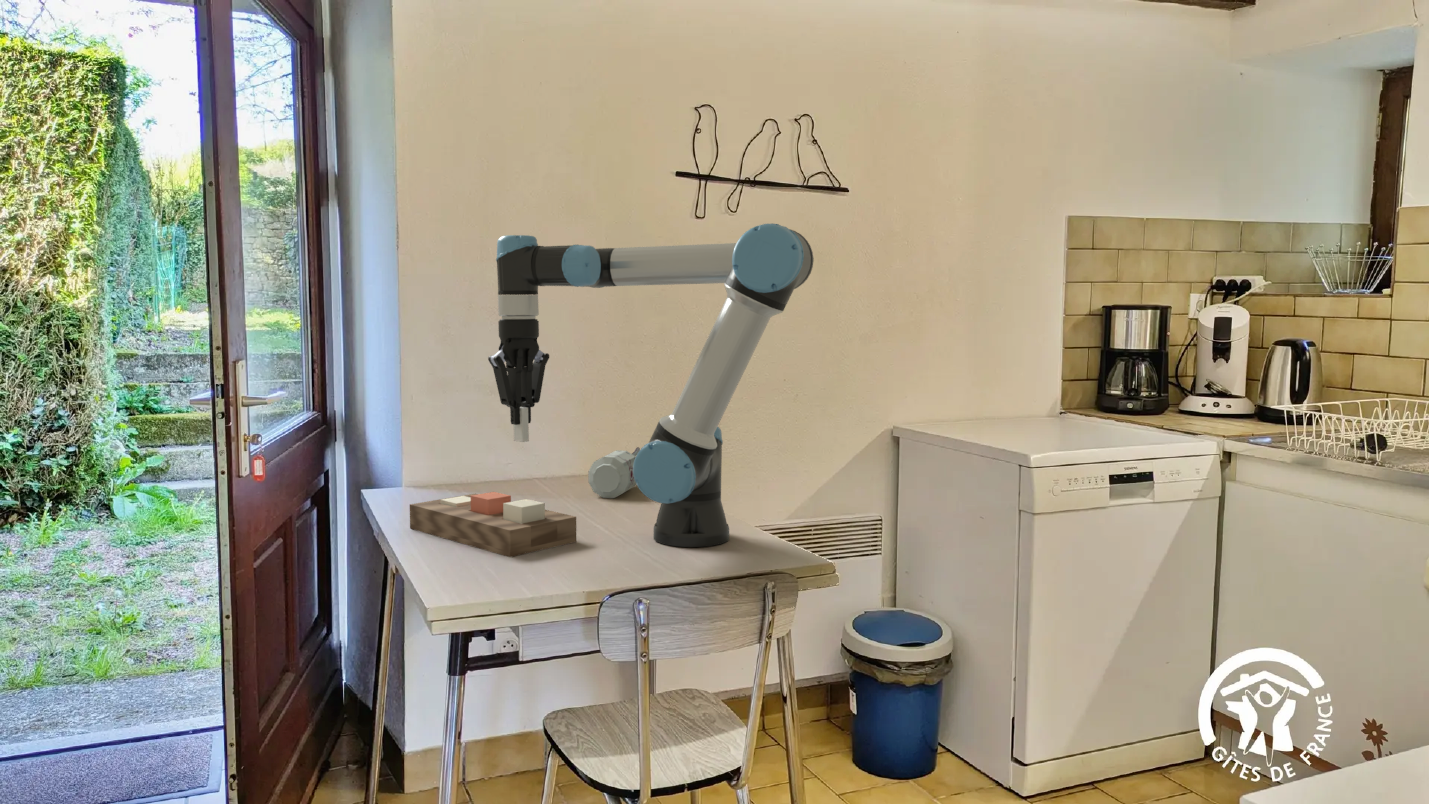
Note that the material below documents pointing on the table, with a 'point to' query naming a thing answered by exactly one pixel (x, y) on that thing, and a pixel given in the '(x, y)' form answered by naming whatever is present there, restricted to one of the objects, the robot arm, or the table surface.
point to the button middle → (489, 503)
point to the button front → (523, 511)
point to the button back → (457, 501)
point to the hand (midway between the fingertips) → (521, 440)
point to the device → (613, 474)
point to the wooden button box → (492, 528)
